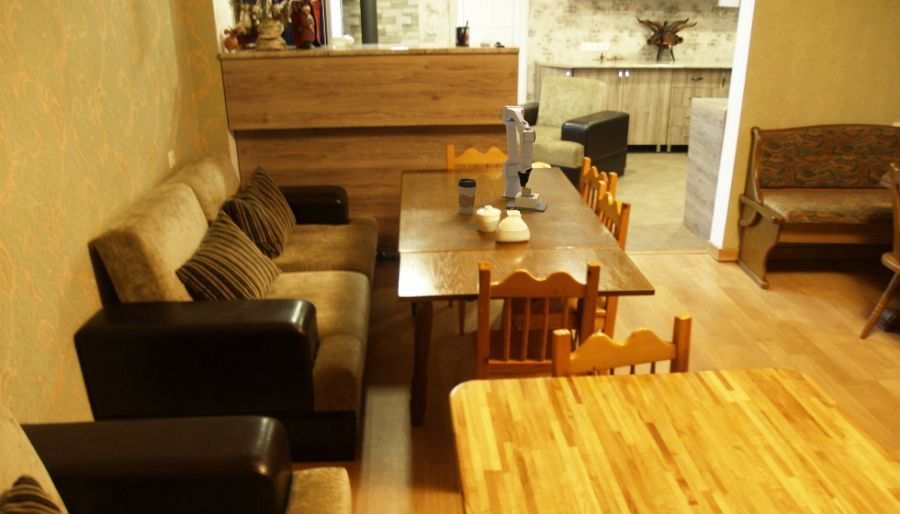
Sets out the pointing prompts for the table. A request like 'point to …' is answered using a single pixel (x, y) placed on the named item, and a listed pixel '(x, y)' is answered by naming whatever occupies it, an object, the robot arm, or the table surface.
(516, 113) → the robot arm
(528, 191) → the peg
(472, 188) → the coffee cup
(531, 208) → the well
